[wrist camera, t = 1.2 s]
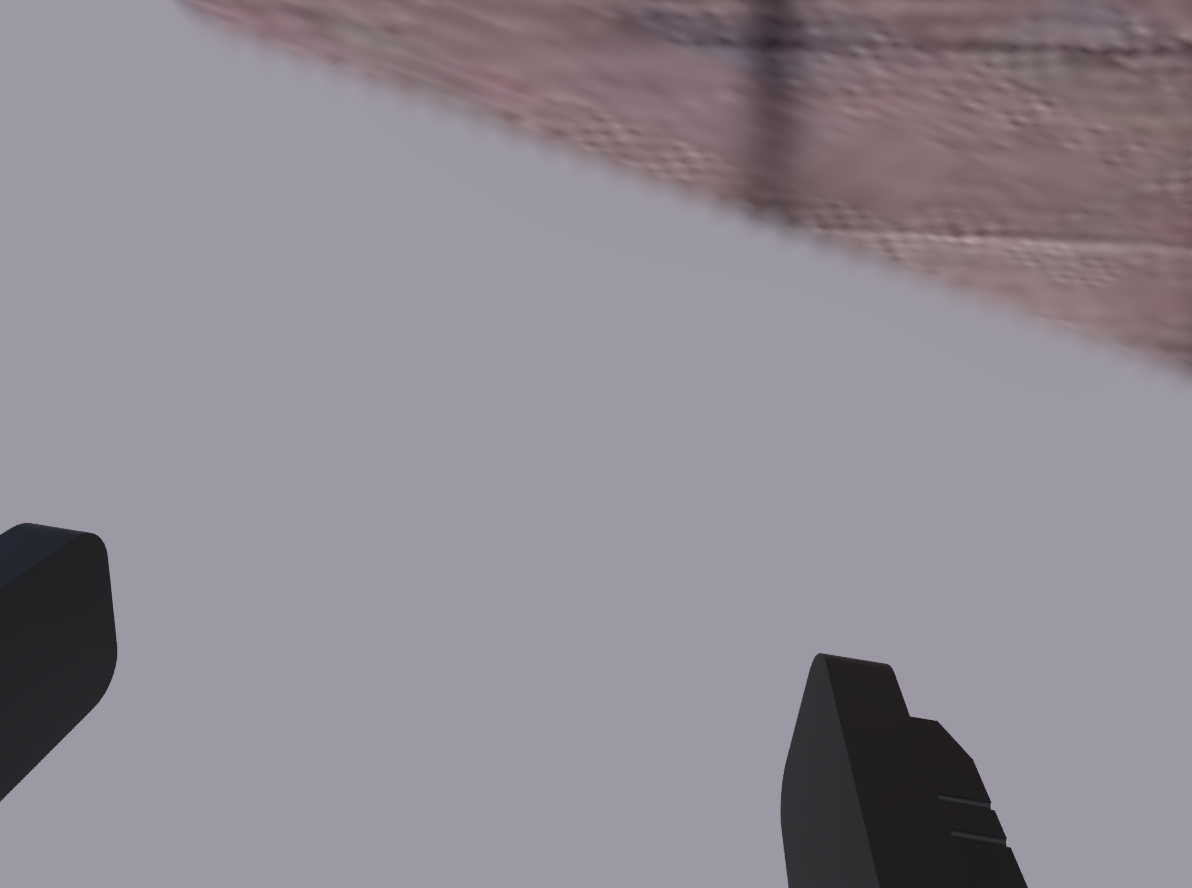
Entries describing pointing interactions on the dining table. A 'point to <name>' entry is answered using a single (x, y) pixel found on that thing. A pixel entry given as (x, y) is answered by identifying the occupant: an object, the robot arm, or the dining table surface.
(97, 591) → the robot arm
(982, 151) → the dining table surface
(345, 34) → the dining table surface
